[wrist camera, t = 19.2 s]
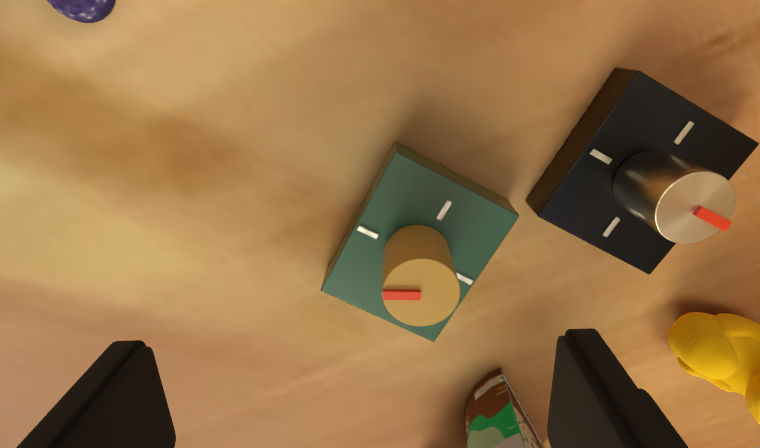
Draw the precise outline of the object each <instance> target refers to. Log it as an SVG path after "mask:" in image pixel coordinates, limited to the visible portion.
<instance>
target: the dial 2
mask: <svg viewBox="0 0 760 448" xmlns="http://www.w3.org/2000/svg"><path fill="white" fill-rule="evenodd" d="M613 194H614V197H615V199H616V201H617V202H618V203H619V205H621V206H622V207H623V208H624V209H626V210H627V211H628V212H630V213H631V214H633V215H634V216H635V217H637V218H638V219H640V220H641V221H642V222H644V223H645V224H646V225H648V226H649V227H651V228H652V229H653V230H655V231H656V232H658V233H659V234H660V235H662V236H663V237H664V238H666V239H668V240H669V241H672V242H675V243H680V244H692V243H697V242H700V241H703V240H706V239H708V238H710V237H711V236H713V235H714V234H716V233H717V232H718V231H720V230H723V231H726V229H727V228H728V227H729V226H730V225H731V224H732V222H731V221H729V219H730V217H731V215H732V213H733V210H734V206H735V193H734V190H733V187H732V186H731V184H730V183H729V181H728V180H727V179H726V178H725V177H723V176H721V175H719V174H717V173H715V172H712V171H710V170H708V169H705V168H703V167H700V166H698V165H695V164H693V163H690V162H688V161H686V160H683V159H681V158H678V157H676V156H673V155H671V154H669V153H666V152H664V151H660V150H645V151H642V152H639V153H636V154H634V155H633V156H631V157H629V158H628V159H627V160H626V161H625V162H624V163H623V164H622V165H621V166H620V167H619V169H618V170H617V172H616V174H615V177H614V180H613Z"/></svg>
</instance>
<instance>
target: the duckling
mask: <svg viewBox="0 0 760 448" xmlns="http://www.w3.org/2000/svg"><path fill="white" fill-rule="evenodd" d="M667 338H668V343H669V346H670V348H671V349H672V351H673V352H674V353H675V354H676V355H677V356H678V363H679V365H680V366H681V368H682V369H683V370H685V371H686V372H687V373H689V374H691V375H694V376H699V377H702V378H704V379H706V380H708V381H709V382H711V383H712V384H714V385H716V386H717V387H719V388H721V389H723V390H725V391H728V392H738V393H739V394H741V395H743V396H745V401H746V404H747V407H748V409H749V411H750V412H751V414H752V416H753V417H754V418H755V420H756V421H757V422H758V423H759V424H760V324H759V323H757V322H755V321H752V320H750V319H747V318H744V317H741V316H738V315H735V314H729V313H720V314H716V315H712V314H707V313H702V312H690V313H687V314H684V315H682V316H681V317H679V318H678V319H677V320H676V321H675V323H674V324H673V325H672V326H671V328H670V329H669V332H668V336H667Z"/></svg>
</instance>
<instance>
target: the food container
mask: <svg viewBox="0 0 760 448" xmlns="http://www.w3.org/2000/svg"><path fill="white" fill-rule="evenodd" d="M464 416H465V426H466V436H467V446H468V448H544V446H543V444H542V442H541V440H540V438H539V436H538V435H537V433H536V431H535V429H534V427H533V425H532V424H531V422H530V420H529V418H528V416H527V414H526V413H525V411H524V409H523V407H522V405H521V404H520V402H519V400H518V398H517V396H516V394H515V393H514V391H513V389H512V387H511V385H510V383H509V382H508V380H507V378H506V376H505V374H504V373H503V371H502V369H501V368H500V369H498V370H496V371H494V372H492V373H490V374H488V375H487V376H485V377H484V378H483V379H482V380H481V381H480V382H478V383H477V384H476V385H475V386H474V388H473V389H472V391H471V393H470V394H469V396H468V397H467V400H466V405H465V410H464Z"/></svg>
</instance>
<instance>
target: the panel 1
mask: <svg viewBox="0 0 760 448" xmlns="http://www.w3.org/2000/svg"><path fill="white" fill-rule="evenodd" d="M518 217H519V215H518V213H517V212H516V211H515V209H514V208H513V207H512V205H511V204H510V203H509V201H508V200H506V199H504V198H502V197H500V196H498V195H496V194H494V193H493V192H491V191H489V190H487V189H485V188H483V187H481V186H479V185H477V184H475V183H473V182H471V181H470V180H468V179H466V178H464V177H462V176H460V175H458V174H456V173H454V172H452V171H450V170H449V169H447V168H445V167H443V166H441V165H439V164H437V163H435V162H433V161H431V160H429V159H428V158H426V157H424V156H422V155H420V154H418V153H416V152H414V151H412V150H410V149H408V148H407V147H405V146H403V145H401V144H399V143H397V142H395V143H394V145H393V147H392V148H391V150H390V152H389V154H388V156H387V158H386V160H385V161H384V163H383V165H382V167H381V169H380V171H379V173H378V175H377V176H376V178H375V180H374V182H373V184H372V186H371V188H370V189H369V191H368V193H367V195H366V197H365V199H364V201H363V203H362V204H361V206H360V208H359V210H358V212H357V214H356V216H355V218H354V219H353V221H352V223H351V225H350V227H349V229H348V231H347V232H346V234H345V236H344V238H343V240H342V242H341V244H340V246H339V247H338V249H337V251H336V253H335V255H334V257H333V259H332V260H331V262H330V264H329V266H328V268H327V270H326V273H325V277H324V280H323V284H322V287H321V291H323V292H325V293H327V294H329V295H331V296H334V297H336V298H338V299H340V300H342V301H345V302H347V303H349V304H351V305H353V306H356V307H358V308H360V309H362V310H364V311H367V312H369V313H371V314H373V315H375V316H378V317H380V318H382V319H384V320H386V321H389V322H391V323H393V324H395V325H397V326H400V327H402V328H404V329H406V330H408V331H411V332H413V333H415V334H417V335H420V336H422V337H424V338H426V339H428V340H431V341H433V342H434V341H435V339H436V338H437V336H438V335H439V334H440V332H441V331H442V329H443V328H444V326H445V325H446V323H447V322H448V320H449V319H450V317H451V316H452V314H453V313H454V311H455V310H456V309H457V307H458V306H459V304H460V303H461V301H462V300H463V298H464V297H465V295H466V294H467V292H468V291H469V289H470V288H471V286H472V285H473V284H474V282H475V281H476V279H477V278H478V276H479V275H480V273H481V272H482V270H483V269H484V267H485V266H486V264H487V263H488V261H489V260H490V259H491V257H492V256H493V254H494V253H495V251H496V250H497V248H498V247H499V245H500V244H501V242H502V241H503V239H504V238H505V236H506V235H507V234H508V232H509V231H510V229H511V228H512V226H513V225H514V223H515V222H516V220H517V219H518ZM410 225H424V226H428V227H431V228H433V229H435V230H437V231H438V232H439V233H440V234H441V235H442V236H443V237H444V238H445V240H446V241H447V243H448V246H449V249H450V253H451V256H452V260H453V263H454V267H455V270H456V274H457V278H458V281H459V285H460V298H459V301H458V304H457V306H456V308H455V309H454V311H453V312H452V313H451V314H450V315H449V316H448V317H447V318H445V319H444V320H442V321H440V322H438V323H436V324H433V325H429V326H412V325H408V324H405V323H403V322H401V321H399V320H397V319H396V318H394V317H393V316H392V315H391V314H390V313H389V311H388V310H387V308H386V307H385V304H384V302H383V298H382V279H383V252H384V247H385V245H386V242H387V241H388V239H389V238H390V237H391V236H392V234H394V233H395V232H396V231H398V230H399V229H401V228H403V227H406V226H410Z"/></svg>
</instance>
